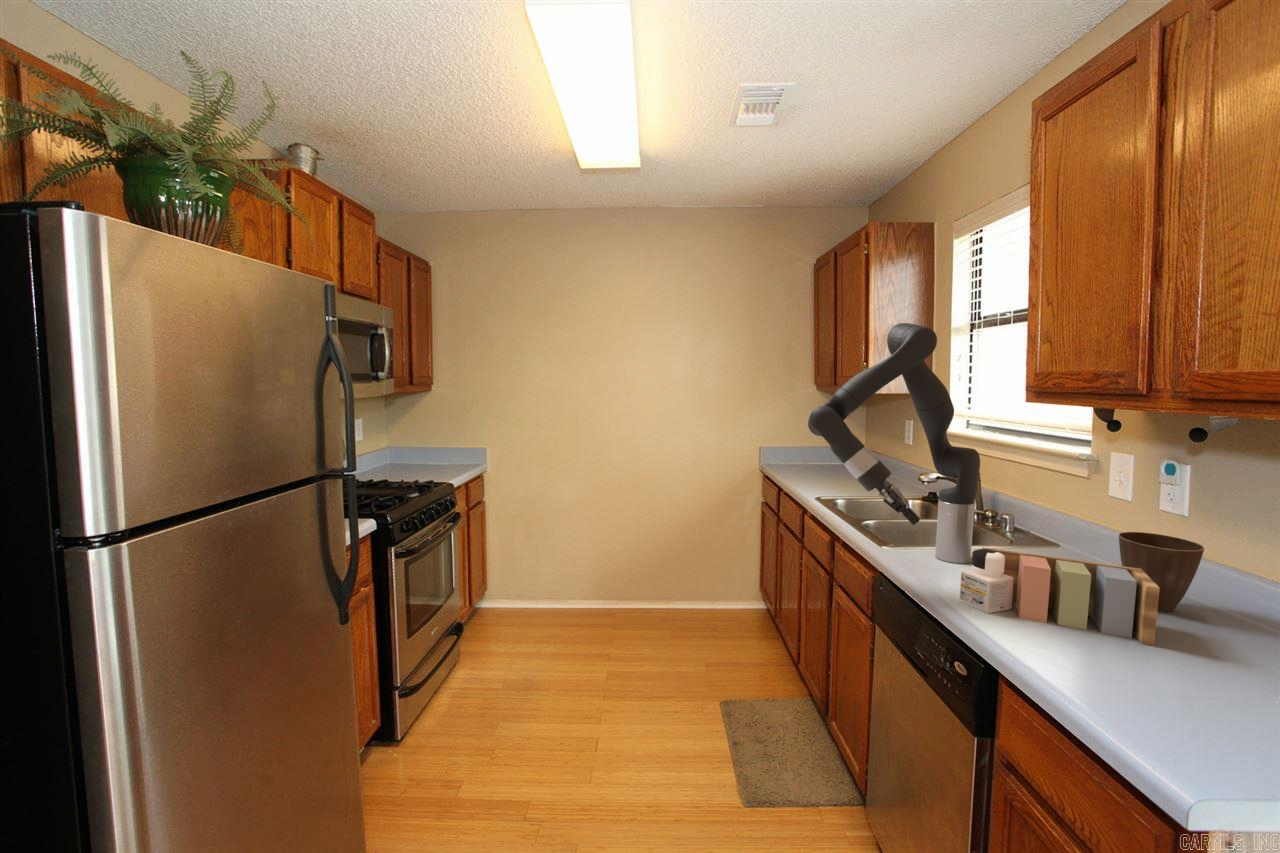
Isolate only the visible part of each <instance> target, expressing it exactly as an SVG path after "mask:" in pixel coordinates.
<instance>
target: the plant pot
mask: <svg viewBox="0 0 1280 853" xmlns="http://www.w3.org/2000/svg"><path fill="white" fill-rule="evenodd" d="M1118 543H1119V544H1118V545H1119V554H1120V561H1121V566H1125V567H1132V568H1140V569H1142V570H1143V571H1144V572H1145V573H1146V574H1147V575H1148V576H1149V577H1150V579H1151V580H1152V581H1153V582H1154V583H1155V584H1156V585H1157V586H1158V587H1159V588H1160V590H1159V600H1158V611H1157V613H1173V612H1174V611H1175V610H1176V609H1177V607H1178V606H1179V604H1180V602H1181V601H1182V600H1183V598H1184V596H1185V595H1186V594H1187V592H1188V589H1189V588H1190V586H1191V584H1192V582H1193V580H1194V578H1195V576H1196V573H1197V570H1198V568H1199V567H1200V564H1201V560H1202V558H1203V555H1204V551H1205V547H1204V546H1203V544H1200V543H1197V542H1195V541H1191V540H1189V539H1185V538H1180V537H1176V536H1170V535H1167V534H1166V535H1164V534H1157V533H1152V532H1139V531H1125V532H1120V533H1119V534H1118Z"/></svg>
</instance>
